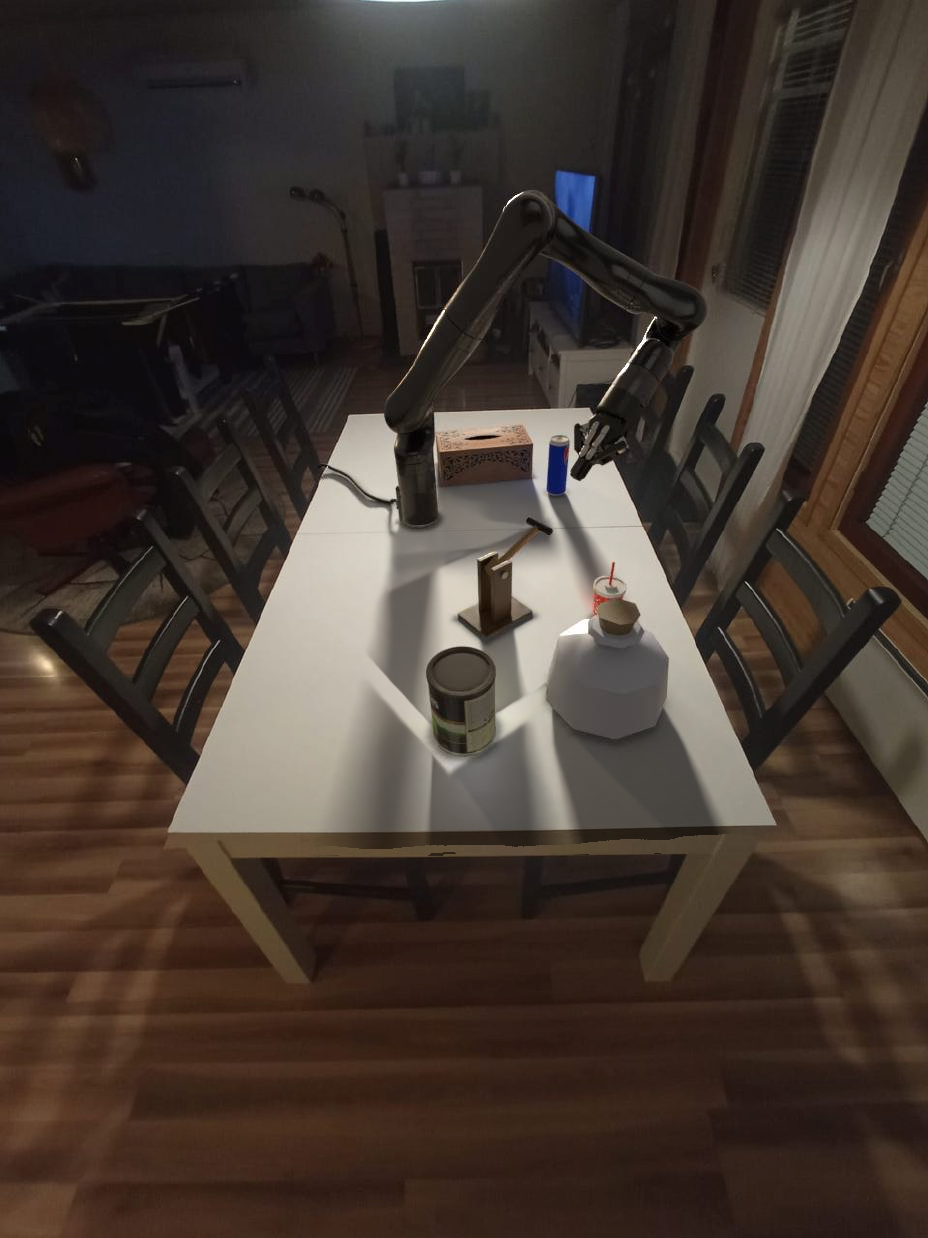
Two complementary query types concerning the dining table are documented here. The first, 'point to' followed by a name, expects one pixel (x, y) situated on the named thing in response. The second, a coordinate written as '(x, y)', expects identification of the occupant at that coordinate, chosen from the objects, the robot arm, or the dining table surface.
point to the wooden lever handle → (520, 542)
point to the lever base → (494, 599)
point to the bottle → (609, 673)
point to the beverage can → (557, 464)
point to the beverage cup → (607, 589)
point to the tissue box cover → (484, 454)
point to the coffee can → (462, 700)
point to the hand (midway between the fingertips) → (574, 478)
